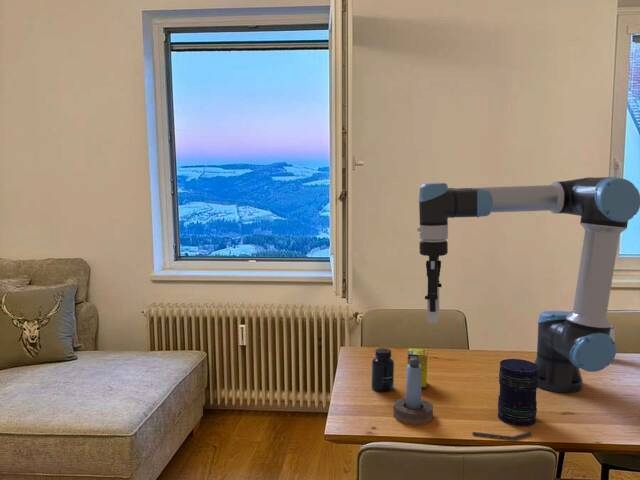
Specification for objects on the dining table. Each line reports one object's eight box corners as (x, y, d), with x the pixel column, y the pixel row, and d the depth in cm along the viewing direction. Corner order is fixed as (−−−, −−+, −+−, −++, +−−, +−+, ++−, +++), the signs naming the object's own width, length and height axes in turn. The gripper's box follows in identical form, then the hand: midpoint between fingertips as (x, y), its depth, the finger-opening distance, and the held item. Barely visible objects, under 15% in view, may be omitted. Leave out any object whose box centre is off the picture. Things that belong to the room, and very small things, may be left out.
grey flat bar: (531, 434, 134) (531, 432, 134) (533, 442, 129) (533, 440, 129) (472, 427, 137) (472, 425, 137) (472, 435, 133) (472, 432, 133)
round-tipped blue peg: (421, 413, 145) (422, 357, 143) (419, 420, 141) (421, 362, 140) (406, 412, 146) (407, 356, 144) (404, 418, 142) (406, 361, 141)
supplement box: (426, 389, 162) (427, 355, 160) (406, 388, 163) (407, 354, 162) (426, 382, 167) (427, 349, 166) (407, 381, 169) (408, 347, 167)
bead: (433, 410, 147) (433, 400, 147) (431, 426, 138) (431, 415, 137) (396, 406, 150) (396, 395, 150) (391, 422, 140) (391, 411, 140)
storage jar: (493, 409, 148) (495, 358, 146) (530, 411, 147) (532, 359, 145) (502, 426, 138) (504, 371, 136) (541, 428, 137) (544, 372, 135)
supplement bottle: (388, 394, 158) (388, 355, 157) (367, 389, 162) (368, 351, 161) (397, 386, 164) (397, 349, 163) (377, 382, 168) (377, 345, 166)
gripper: (422, 234, 157) (422, 304, 159) (416, 246, 133) (416, 328, 135) (448, 234, 155) (448, 305, 157) (447, 246, 131) (447, 329, 133)
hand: (433, 316), depth 146 cm, fingers open, 13 cm apart
